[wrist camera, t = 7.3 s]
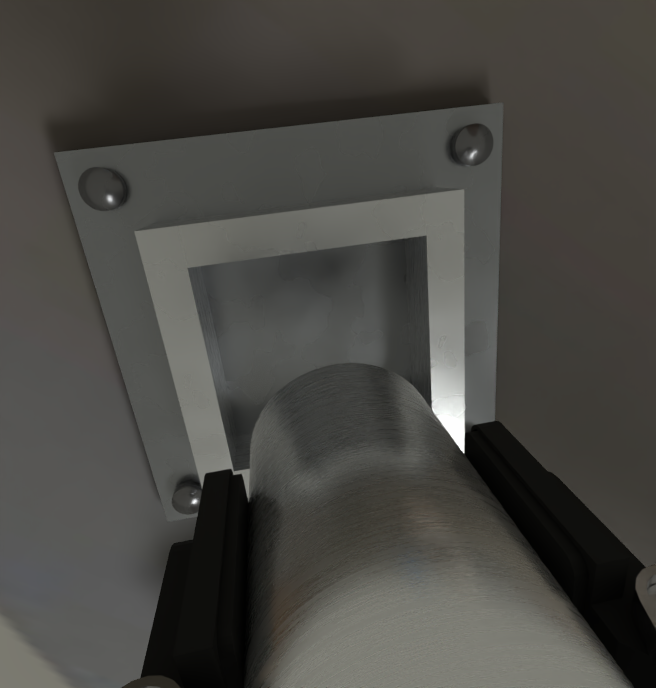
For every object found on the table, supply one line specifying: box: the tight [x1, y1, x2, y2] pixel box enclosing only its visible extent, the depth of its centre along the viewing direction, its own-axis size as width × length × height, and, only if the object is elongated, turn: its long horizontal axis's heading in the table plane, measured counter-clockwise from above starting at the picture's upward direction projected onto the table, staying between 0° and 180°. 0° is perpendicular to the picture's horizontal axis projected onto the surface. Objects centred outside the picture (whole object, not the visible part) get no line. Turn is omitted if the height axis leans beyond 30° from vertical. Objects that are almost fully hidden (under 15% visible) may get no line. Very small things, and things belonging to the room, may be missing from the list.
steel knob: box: [244, 363, 634, 688], centre depth 7 cm, size 6×6×10 cm
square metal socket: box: [54, 103, 503, 522], centre depth 20 cm, size 18×18×4 cm
